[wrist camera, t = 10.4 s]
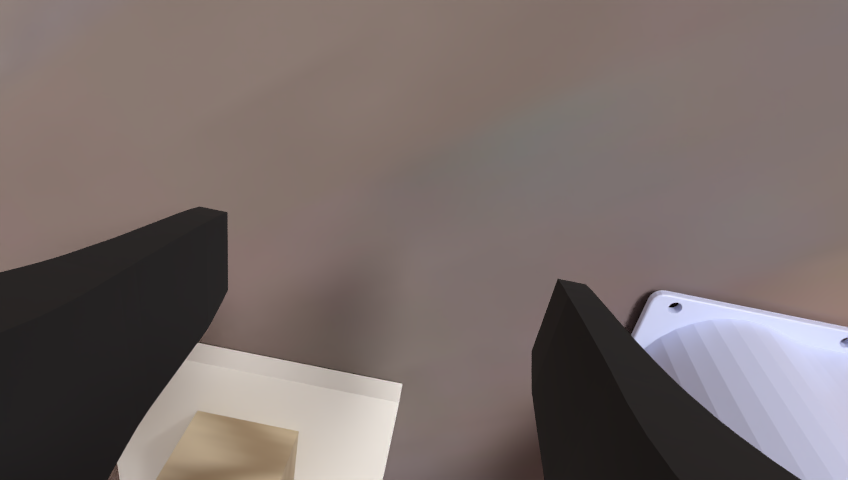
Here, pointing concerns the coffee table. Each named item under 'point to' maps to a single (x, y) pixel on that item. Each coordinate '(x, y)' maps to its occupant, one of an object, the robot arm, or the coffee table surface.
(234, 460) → the maple cube
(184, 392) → the ceramic tile
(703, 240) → the coffee table surface
